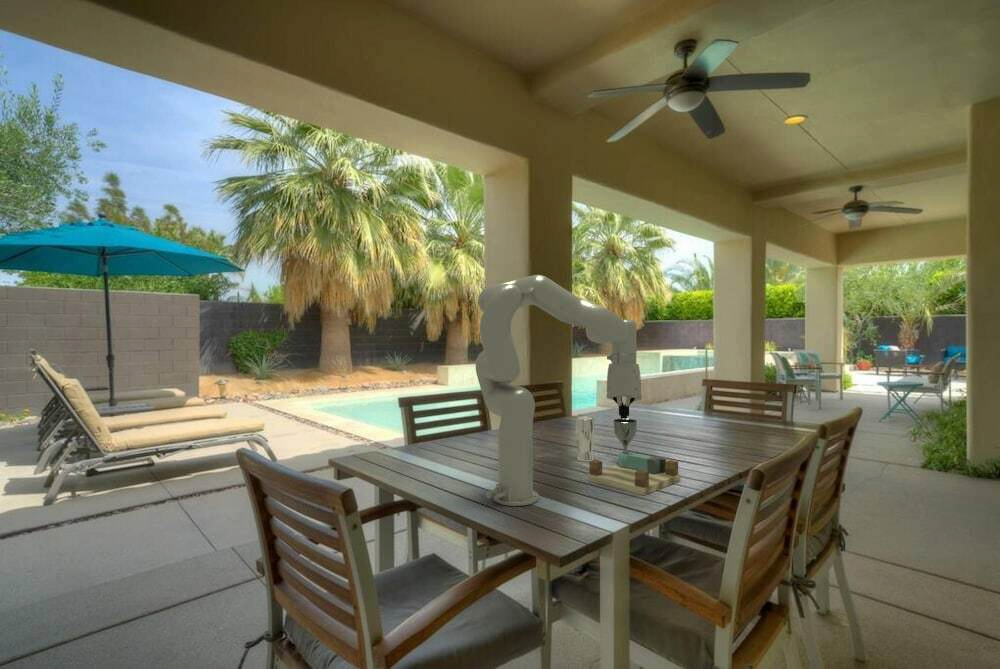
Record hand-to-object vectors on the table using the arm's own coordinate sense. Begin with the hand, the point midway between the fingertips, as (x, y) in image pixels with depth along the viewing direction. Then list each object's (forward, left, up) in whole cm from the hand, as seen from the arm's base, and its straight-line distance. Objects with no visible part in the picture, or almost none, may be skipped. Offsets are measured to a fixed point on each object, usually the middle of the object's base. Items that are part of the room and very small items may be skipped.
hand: (624, 418), depth 159 cm
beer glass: (+11, +24, -20) cm, 33 cm away
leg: (+7, 0, -17) cm, 18 cm away
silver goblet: (+17, +11, -20) cm, 28 cm away
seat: (+1, -3, -19) cm, 20 cm away
